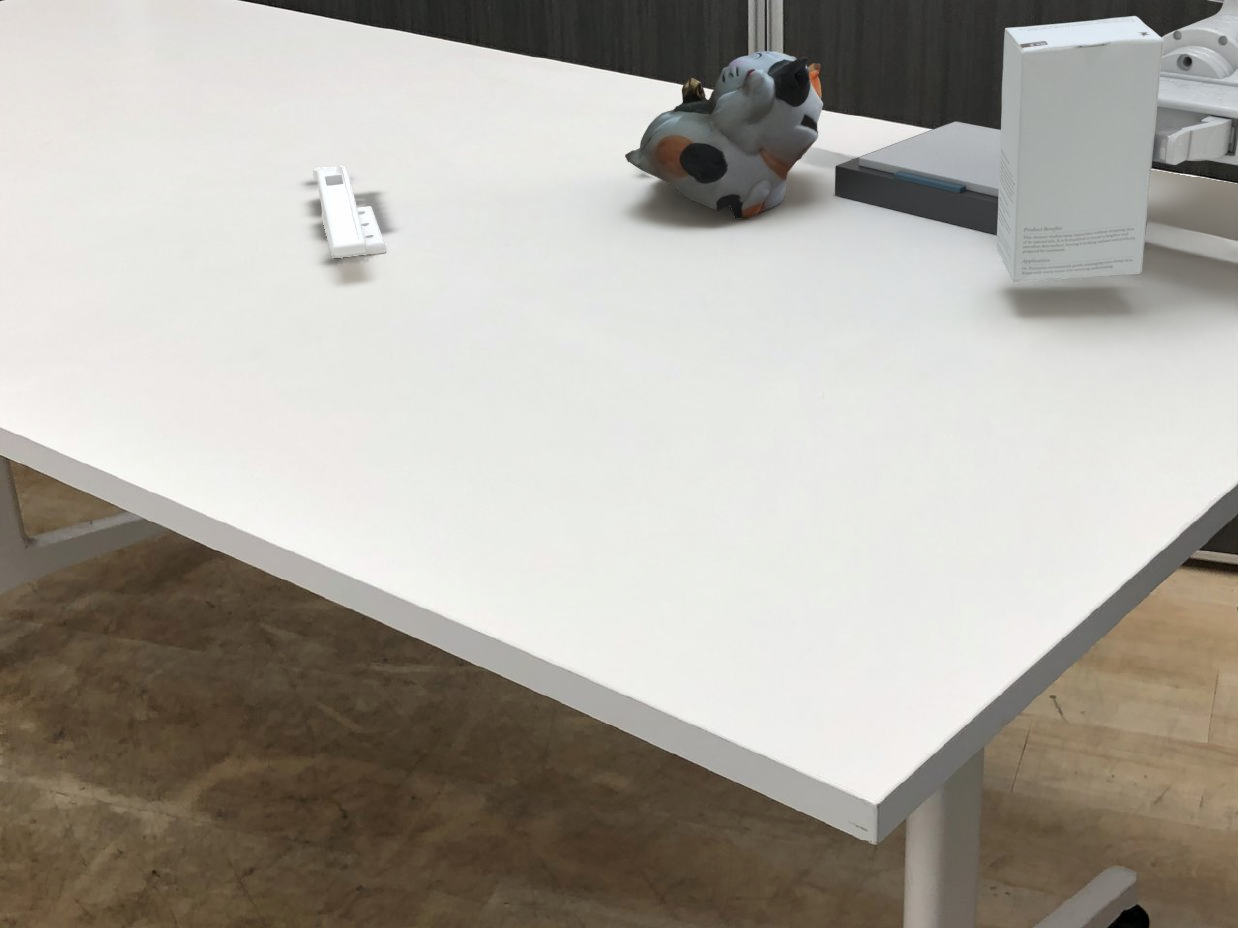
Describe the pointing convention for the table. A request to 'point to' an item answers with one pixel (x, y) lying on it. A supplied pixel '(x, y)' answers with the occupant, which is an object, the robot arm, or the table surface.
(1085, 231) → the cosmetic box
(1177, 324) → the table surface
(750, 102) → the lucky cat figurine
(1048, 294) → the table surface
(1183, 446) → the table surface
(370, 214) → the white intercom handset
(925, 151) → the scale
